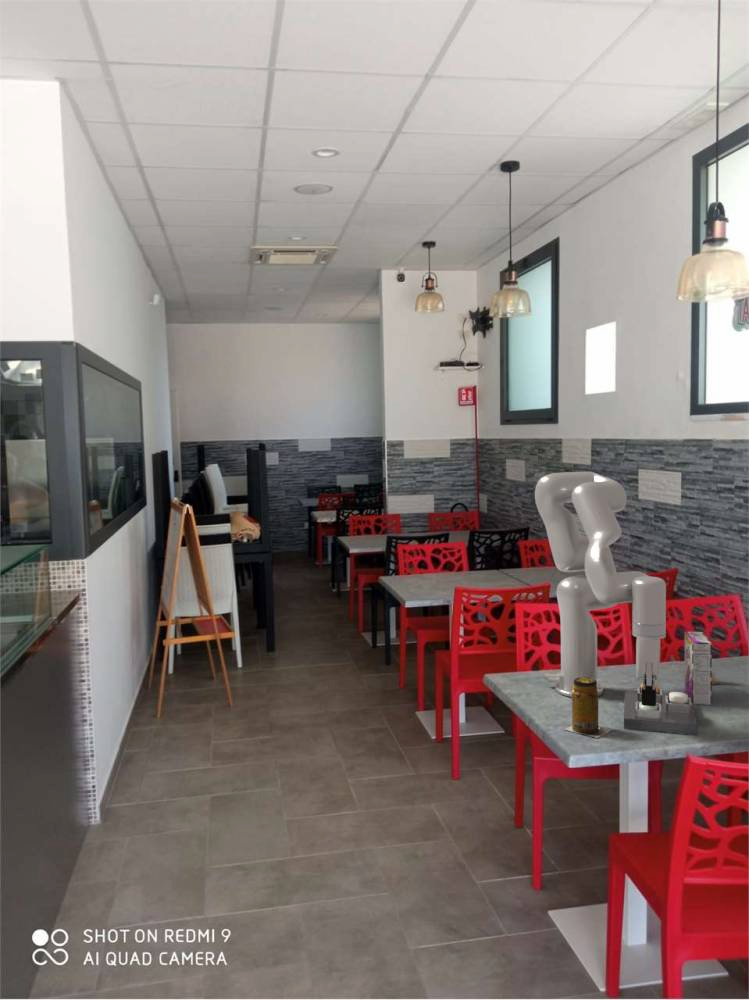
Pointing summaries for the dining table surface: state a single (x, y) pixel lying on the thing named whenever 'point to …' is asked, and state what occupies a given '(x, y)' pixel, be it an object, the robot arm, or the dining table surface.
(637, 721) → the button panel
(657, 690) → the terracotta button
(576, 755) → the dining table surface
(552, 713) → the dining table surface
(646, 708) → the sage button
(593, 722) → the condiment
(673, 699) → the cream button
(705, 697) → the candy bar box
